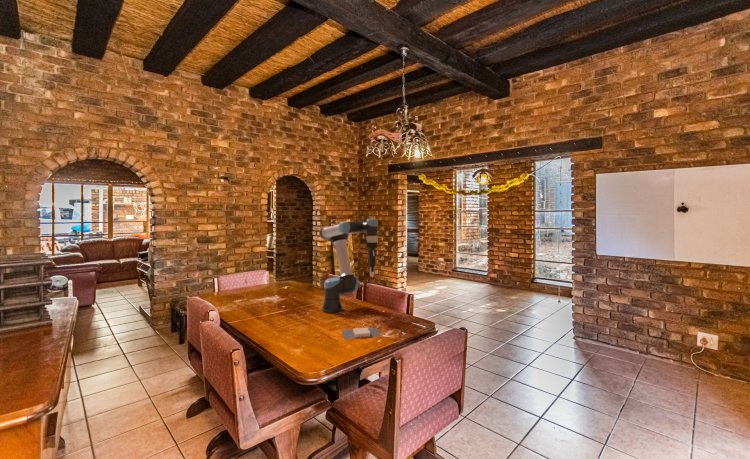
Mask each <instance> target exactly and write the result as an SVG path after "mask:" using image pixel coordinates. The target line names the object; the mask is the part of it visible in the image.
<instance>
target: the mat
mask: <svg viewBox="0 0 750 459" xmlns="http://www.w3.org/2000/svg"><path fill="white" fill-rule="evenodd" d="M367 328H368V329H369V331H370V336H369V337H357V338H355V336H354V333H353V329H354V328H351V329H342V330H341V333H342V336H343V339H344V340H351V339H353V340H354V339H363V338H376V337H377V338H379V337H382V335H381V333H380V332H379V330H378V328H377V327H367Z"/></svg>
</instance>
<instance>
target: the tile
mask: <svg viewBox="0 0 750 459" xmlns="http://www.w3.org/2000/svg"><path fill="white" fill-rule="evenodd" d="M368 328H369V327H359V328H358V327H356V328H352V329H353V333H354V336H355V338H354V339H358V338H357V337H367V338H370V337H369V336H370V331H369V329H368Z"/></svg>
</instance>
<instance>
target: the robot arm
mask: <svg viewBox="0 0 750 459" xmlns="http://www.w3.org/2000/svg"><path fill="white" fill-rule="evenodd" d="M378 226H379V224H378V219H377V218H367V219H366V221H364V220H359V221H342V222H340V223H338V224H335V225H325V226H322V227H321V228H320V229H319V232H318V233H319V236H320V238H321V239H322V240H324V241H327V242H328V241H331V243H332V244H333V245H334V247H335V252H336V258H337V262H338V268H339V272H340V275H339V277H338V276H337V277H329V278H326V280H324V283H323V284H324V286H323V287H324V288H323V290H324V296H323V297H324V301H323V303H322V308H321V311H322V312H324V313H329V314H333V313H335V314H336V313H340V312H342V311H343V309H344V308H343V304H342V300H341V295H347V294H353V293H356V292H357V291H358V288H359V286H360V284H359V282H360V281H359V278H358V277H357V276H355V273H353V271H352V267H351V262H350V259H349V254H348V253H349V252H348V247H347V242H348V239H349V237H350V234H351V233H352V234H353V233H355V234H356V233H366V237H365V239H366V248H368V262H369V263H368V265H369V277H371V278H373V277H375V267H376V256H377V253H376V248H378V246H379V244H378V240H379V238H378V235H379V234H378V233H379V232H378V231H379V229H378Z"/></svg>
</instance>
